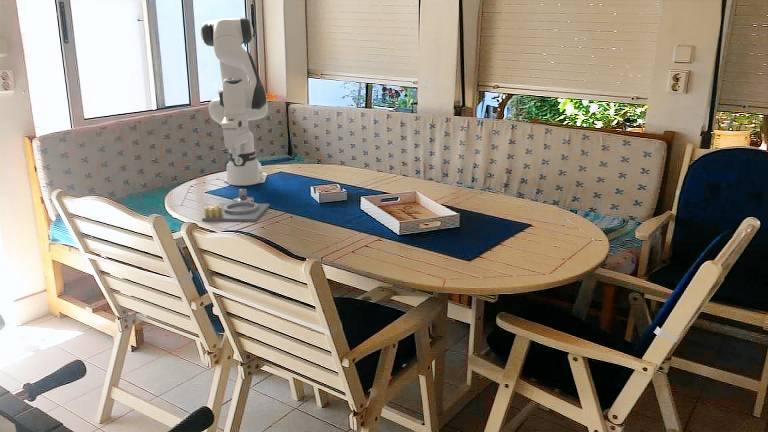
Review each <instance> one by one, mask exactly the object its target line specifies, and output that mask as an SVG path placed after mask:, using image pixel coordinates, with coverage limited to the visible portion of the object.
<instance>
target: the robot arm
mask: <svg viewBox="0 0 768 432" xmlns="http://www.w3.org/2000/svg"><path fill="white" fill-rule="evenodd" d="M253 27H254V26H253V25H252V23H251V21H250V19H249V18H247V17H246V18H245V17H240V18H239V17H238V18H236V17H228V18H220V19H216V20H207V21H205V22H204V21H203V23H202V25H201V28H200V37H201V40H202V41H203V43H204V45H206V46H209V47H213V49H214V51H213V52H214V53H215V56H216V59H218V60H219V67H220V74H221V75H220V76H221V81H222V82H221V83H222V87H221V88H220V89H219V90H218V92H217V93H218V95H219V96H218V97H216V98H213V99H211V100H210V102H209V104H208V107H207V108H208V109H207V110H208V114H209V116H210V118H211V119H212V120H213V121H215V123H218V124H219V125H220V126H221V129H222V130H223V131H222V134H223V141H224V142H223V143H224V146H225V148H226V149H228V151H229V152H228V160H229V161H228V163H227V164H226V178H225V179H223V182H224V183H226V184H229V185H230V186H231V185H232V186H252V185H257V184H262V183H265V182H266V179H267V176H268V174H267V172H263V170H262V164H261V162H260V161H259V160H258V159H257V149H255V139H254V134H253V132H252V131H250V127H249V121H256V120H259V119H263V118H265V117H266V116H267V115H268V112H269V104H268V102H267V101H268V100H267V99H268V98H267V97H268V96H267V92H266V90H265V87H264V84H263V83H262V80H261V78H260V75H259V72H258V70H257V66H256V63H255V60H254V59H253V57H252V55H251V53H250V52H249V51H247V50H246V49H245V48H247V45H248V44H250V42H251V41H252V39H253V36H254V28H253ZM242 45H244V47H243V46H242Z"/></svg>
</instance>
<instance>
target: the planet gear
mask: <svg viewBox="0 0 768 432" xmlns="http://www.w3.org/2000/svg"><path fill="white" fill-rule="evenodd" d="M247 193H248V192H247V188H239V189H238V196H237V197H236V198H233V199H232V203H234V202H254V203H255V199H254V197H252V196H251V197H250V196H248V194H247Z"/></svg>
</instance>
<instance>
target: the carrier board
mask: <svg viewBox="0 0 768 432" xmlns="http://www.w3.org/2000/svg"><path fill="white" fill-rule="evenodd" d="M270 206H271V205H270V203H257V202H255V201H254V202H234V203H233V202H220V203H218V204H213V205H210V204H209V205H207V206H204V207H203V211H204V216H203V217H202V218H201V221H203V222H204V221H205V222H208V221H209V222H251V223H255V222H256V221H258V219H259V218H260V217H262V215H263V214H264V213H265V212H266V211H267V210H268V209H269V208H270Z"/></svg>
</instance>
